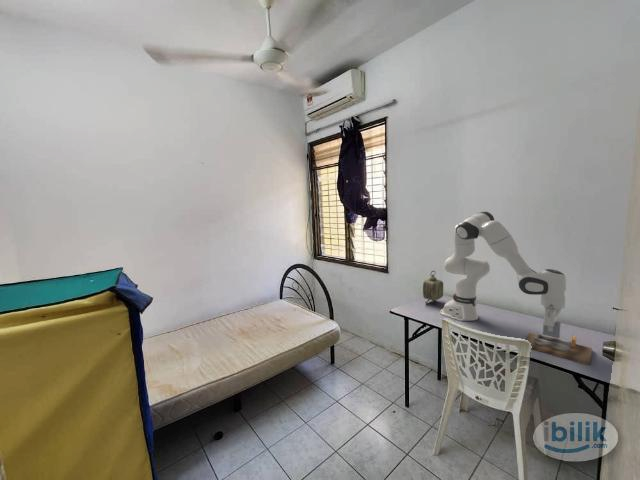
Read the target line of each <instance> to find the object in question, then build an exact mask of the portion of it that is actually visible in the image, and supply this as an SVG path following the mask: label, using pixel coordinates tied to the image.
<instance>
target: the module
mask: <svg viewBox="0 0 640 480" xmlns="http://www.w3.org/2000/svg"><path fill="white" fill-rule="evenodd" d="M561 324H562V323H561V322H558V321H556V323H555V325H554V327H553V331H552V332H551V331H548V326H545V325H544V323H543V325H542V326H543V327H542V328H543V330H542V335H545V336H550V337H554V338H558V339H560V336H561Z"/></svg>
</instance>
